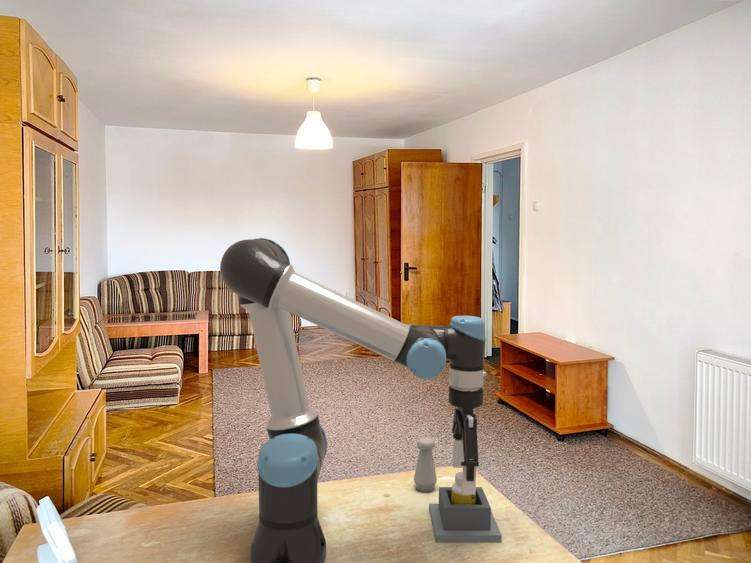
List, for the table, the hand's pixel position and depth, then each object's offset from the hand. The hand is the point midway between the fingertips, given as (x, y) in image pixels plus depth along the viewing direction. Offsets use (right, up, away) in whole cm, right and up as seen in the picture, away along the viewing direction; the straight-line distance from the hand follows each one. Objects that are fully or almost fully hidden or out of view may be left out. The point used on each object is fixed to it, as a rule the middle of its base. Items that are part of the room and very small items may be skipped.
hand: (463, 479), depth 126 cm
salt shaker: (-7, -9, +19) cm, 22 cm away
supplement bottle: (0, -9, +1) cm, 9 cm away
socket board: (0, -11, +1) cm, 11 cm away
